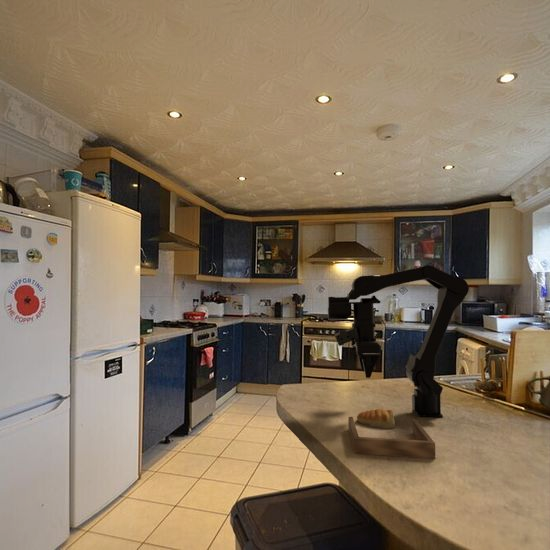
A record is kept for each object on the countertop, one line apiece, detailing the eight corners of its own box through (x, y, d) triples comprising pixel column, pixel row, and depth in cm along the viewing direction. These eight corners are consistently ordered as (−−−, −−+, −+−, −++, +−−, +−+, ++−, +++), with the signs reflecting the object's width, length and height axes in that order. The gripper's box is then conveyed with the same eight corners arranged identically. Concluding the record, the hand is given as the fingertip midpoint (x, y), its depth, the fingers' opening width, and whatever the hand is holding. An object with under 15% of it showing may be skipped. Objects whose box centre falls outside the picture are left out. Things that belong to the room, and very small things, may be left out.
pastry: (357, 427, 89) (357, 411, 90) (356, 418, 96) (356, 403, 96) (396, 430, 87) (396, 414, 88) (393, 421, 94) (393, 406, 94)
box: (416, 432, 85) (416, 420, 85) (435, 458, 72) (435, 443, 72) (348, 429, 87) (348, 416, 87) (354, 453, 74) (354, 438, 74)
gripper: (334, 318, 113) (335, 367, 112) (337, 322, 95) (339, 381, 94) (369, 317, 112) (371, 367, 111) (380, 321, 94) (382, 382, 93)
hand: (365, 374), depth 102 cm, fingers open, 9 cm apart
